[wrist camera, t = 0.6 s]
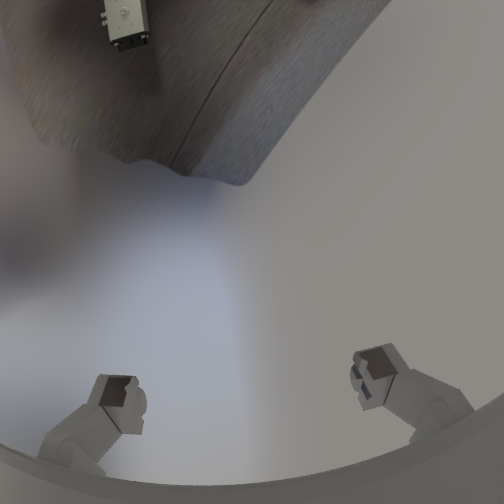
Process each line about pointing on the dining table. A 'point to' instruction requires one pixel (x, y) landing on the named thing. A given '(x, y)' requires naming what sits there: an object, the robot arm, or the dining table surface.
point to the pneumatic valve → (126, 23)
